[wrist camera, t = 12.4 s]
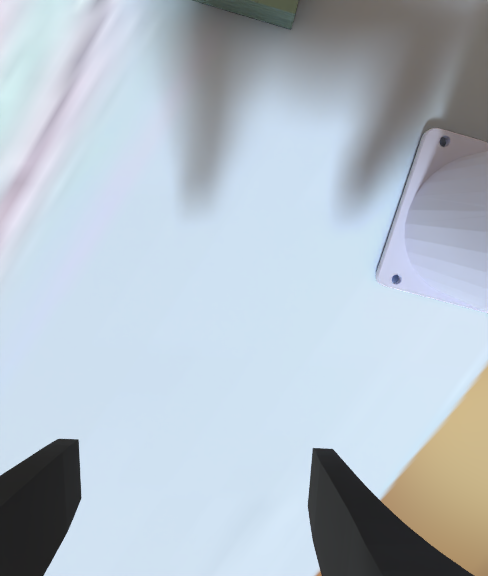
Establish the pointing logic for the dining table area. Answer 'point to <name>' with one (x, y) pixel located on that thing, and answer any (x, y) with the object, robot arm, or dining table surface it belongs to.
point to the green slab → (260, 9)
